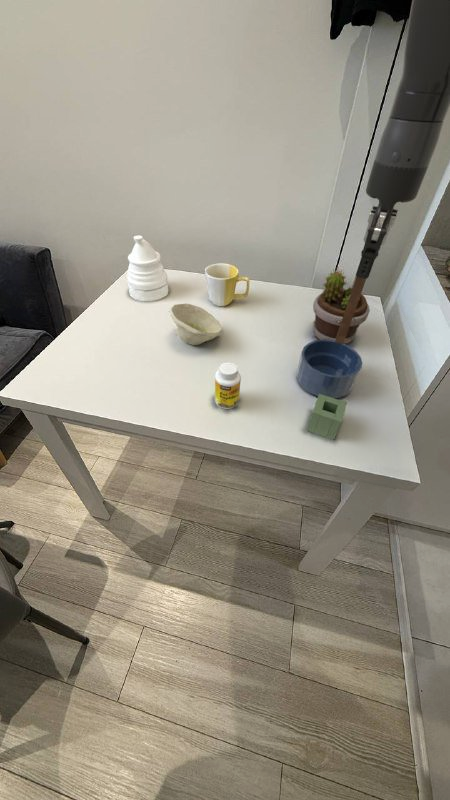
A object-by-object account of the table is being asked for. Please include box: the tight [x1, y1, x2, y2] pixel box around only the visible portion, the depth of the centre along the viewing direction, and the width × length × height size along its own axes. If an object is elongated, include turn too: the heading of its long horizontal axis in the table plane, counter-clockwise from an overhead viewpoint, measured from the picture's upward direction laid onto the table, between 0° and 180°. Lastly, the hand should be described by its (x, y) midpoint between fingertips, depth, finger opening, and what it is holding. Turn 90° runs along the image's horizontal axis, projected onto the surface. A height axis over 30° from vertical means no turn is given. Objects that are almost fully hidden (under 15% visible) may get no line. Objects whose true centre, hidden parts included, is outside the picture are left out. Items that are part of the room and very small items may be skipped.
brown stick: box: [335, 248, 376, 344], centre depth 64 cm, size 2×2×20 cm
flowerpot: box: [312, 266, 371, 345], centre depth 88 cm, size 14×15×20 cm
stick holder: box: [306, 394, 348, 440], centre depth 69 cm, size 6×6×6 cm
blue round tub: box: [295, 339, 363, 399], centre depth 79 cm, size 14×14×8 cm
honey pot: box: [126, 235, 169, 302], centre depth 103 cm, size 13×13×18 cm
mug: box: [204, 262, 250, 307], centre depth 102 cm, size 14×10×10 cm
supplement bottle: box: [214, 361, 242, 410], centre depth 72 cm, size 6×6×10 cm
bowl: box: [168, 303, 224, 346], centre depth 88 cm, size 15×14×10 cm
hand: (362, 274), depth 60 cm, fingers closed on brown stick, 2 cm apart
